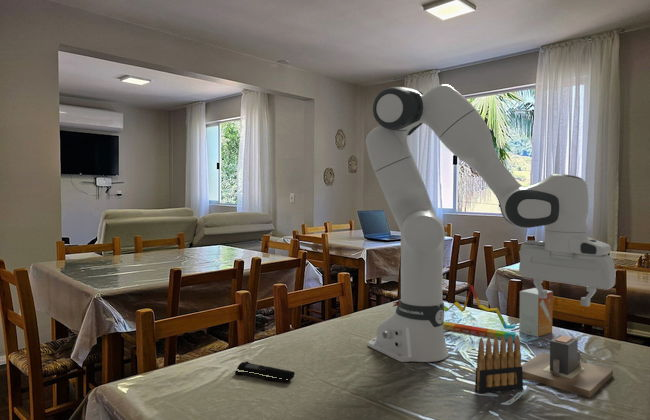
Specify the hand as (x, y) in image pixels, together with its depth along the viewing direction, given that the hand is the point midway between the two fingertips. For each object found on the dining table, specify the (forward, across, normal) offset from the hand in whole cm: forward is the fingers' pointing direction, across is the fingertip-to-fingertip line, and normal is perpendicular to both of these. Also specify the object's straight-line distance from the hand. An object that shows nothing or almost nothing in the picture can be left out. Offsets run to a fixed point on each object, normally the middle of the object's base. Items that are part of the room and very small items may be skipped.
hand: (563, 301), depth 104 cm
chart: (+19, -34, +14) cm, 41 cm away
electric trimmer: (+20, -48, -52) cm, 73 cm away
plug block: (+16, 0, 0) cm, 16 cm away
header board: (+18, +1, 0) cm, 18 cm away
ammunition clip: (+18, -6, -18) cm, 26 cm away
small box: (+18, -17, +28) cm, 38 cm away
